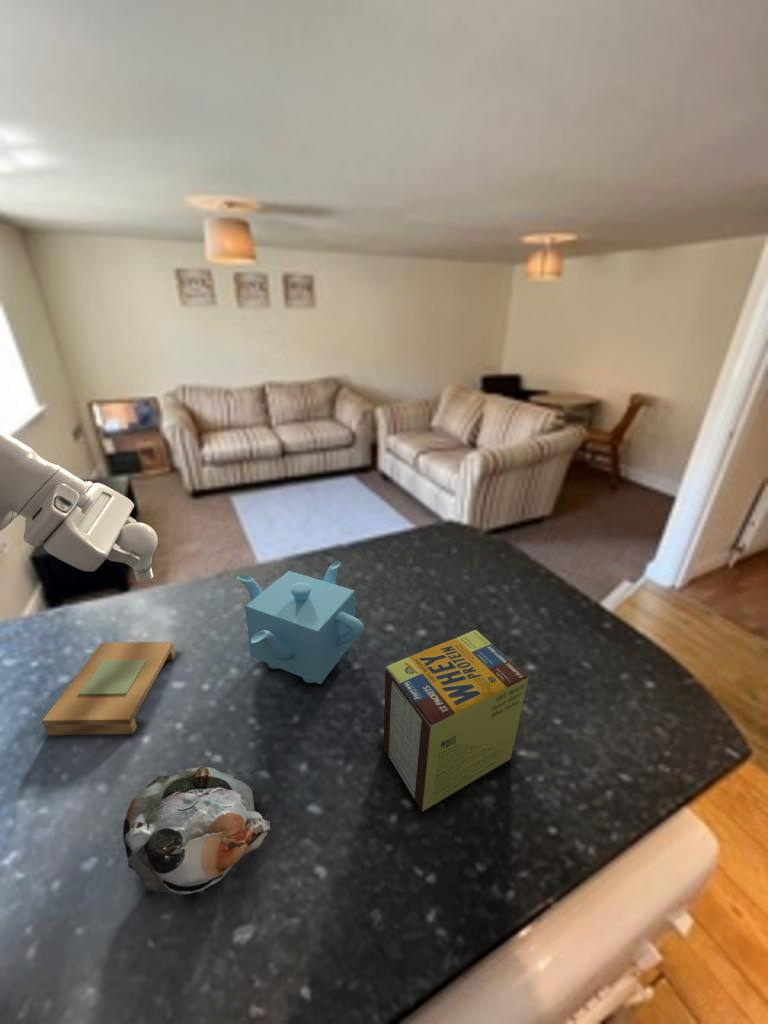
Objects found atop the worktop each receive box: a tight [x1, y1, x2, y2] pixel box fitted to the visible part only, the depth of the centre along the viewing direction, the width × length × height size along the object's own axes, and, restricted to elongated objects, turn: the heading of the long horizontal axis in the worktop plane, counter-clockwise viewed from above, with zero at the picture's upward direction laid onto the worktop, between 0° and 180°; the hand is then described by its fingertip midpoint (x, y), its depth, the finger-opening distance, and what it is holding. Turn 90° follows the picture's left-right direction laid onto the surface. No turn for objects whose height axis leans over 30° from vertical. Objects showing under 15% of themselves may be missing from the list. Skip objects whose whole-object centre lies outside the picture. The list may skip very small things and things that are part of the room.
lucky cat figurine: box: [122, 766, 271, 896], centre depth 49 cm, size 15×12×14 cm
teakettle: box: [236, 560, 364, 685], centre depth 77 cm, size 19×19×15 cm
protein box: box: [382, 629, 529, 812], centre depth 60 cm, size 10×15×16 cm
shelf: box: [41, 641, 176, 736], centre depth 71 cm, size 12×16×3 cm
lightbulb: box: [115, 521, 159, 583], centre depth 75 cm, size 6×6×11 cm
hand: (142, 550), depth 75 cm, fingers closed on lightbulb, 6 cm apart
